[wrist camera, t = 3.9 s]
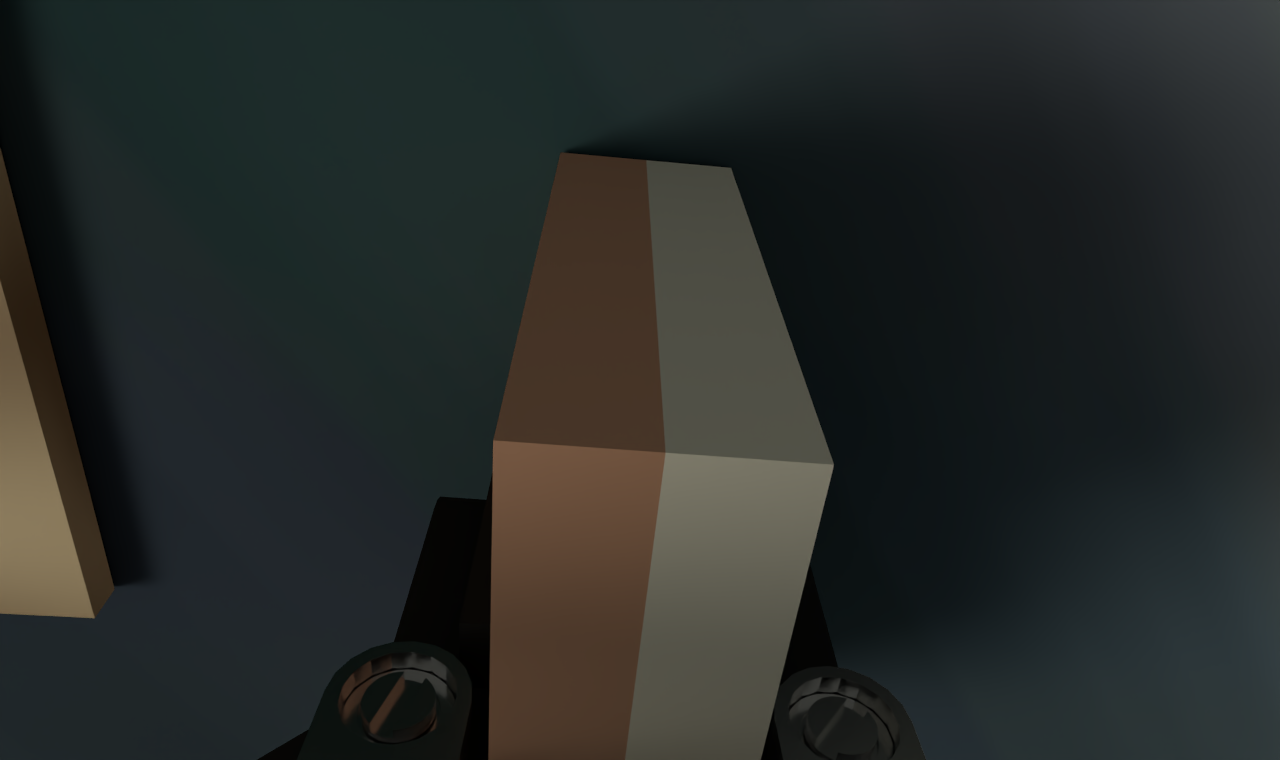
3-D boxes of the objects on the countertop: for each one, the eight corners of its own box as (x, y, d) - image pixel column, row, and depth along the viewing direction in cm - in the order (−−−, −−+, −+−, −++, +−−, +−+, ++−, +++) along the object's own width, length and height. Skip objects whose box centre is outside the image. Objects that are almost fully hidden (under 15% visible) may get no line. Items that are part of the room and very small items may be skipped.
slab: (653, 694, 15) (666, 1137, 10) (533, 688, 15) (482, 1132, 10) (731, 168, 10) (833, 464, 5) (559, 152, 10) (492, 440, 5)
